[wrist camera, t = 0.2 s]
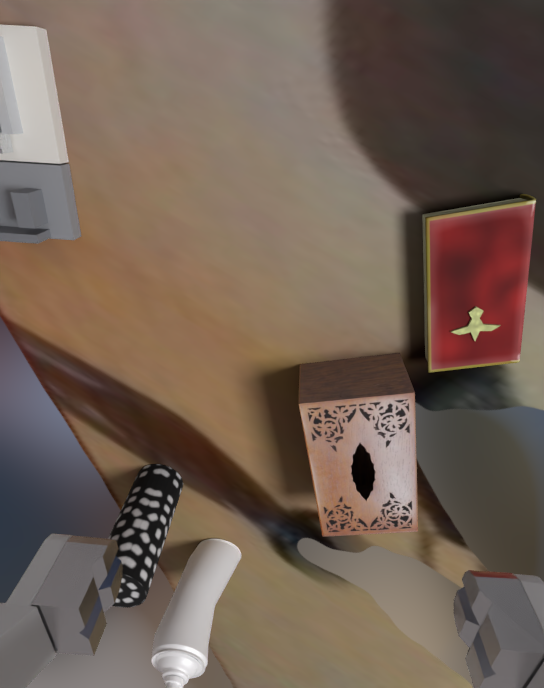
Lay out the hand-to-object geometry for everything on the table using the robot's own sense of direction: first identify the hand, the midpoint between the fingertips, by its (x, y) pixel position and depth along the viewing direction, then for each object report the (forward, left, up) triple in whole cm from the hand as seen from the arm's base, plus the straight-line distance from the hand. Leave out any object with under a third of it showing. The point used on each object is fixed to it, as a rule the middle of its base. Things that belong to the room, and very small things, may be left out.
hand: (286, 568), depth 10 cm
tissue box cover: (+34, +11, -48) cm, 60 cm away
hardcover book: (+9, +22, -48) cm, 54 cm away
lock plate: (-5, -36, -48) cm, 60 cm away
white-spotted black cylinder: (+50, -22, -48) cm, 73 cm away
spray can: (+68, -13, -48) cm, 84 cm away
